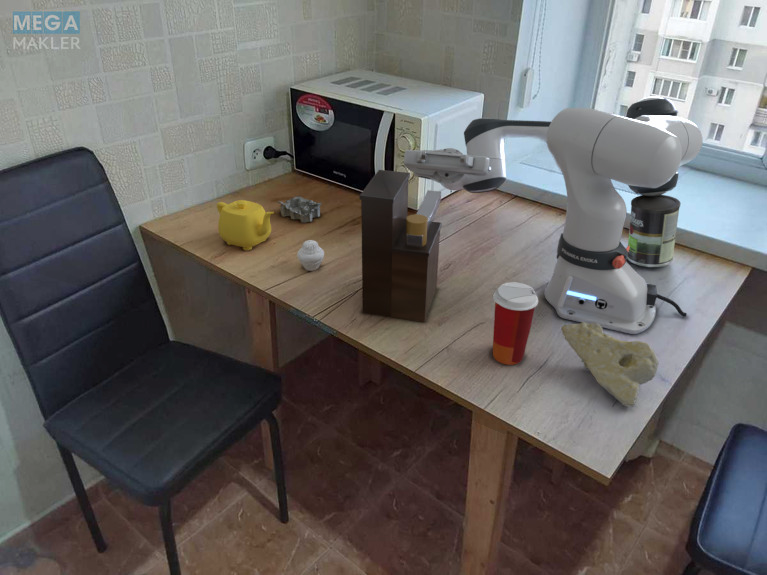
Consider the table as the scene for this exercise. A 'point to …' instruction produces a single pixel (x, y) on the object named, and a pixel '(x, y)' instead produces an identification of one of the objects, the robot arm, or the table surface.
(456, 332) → the table surface
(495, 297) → the paper cup
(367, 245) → the step stand
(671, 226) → the coffee can
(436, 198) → the crank handle
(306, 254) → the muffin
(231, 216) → the teapot
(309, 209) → the egg carton
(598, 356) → the cheese
